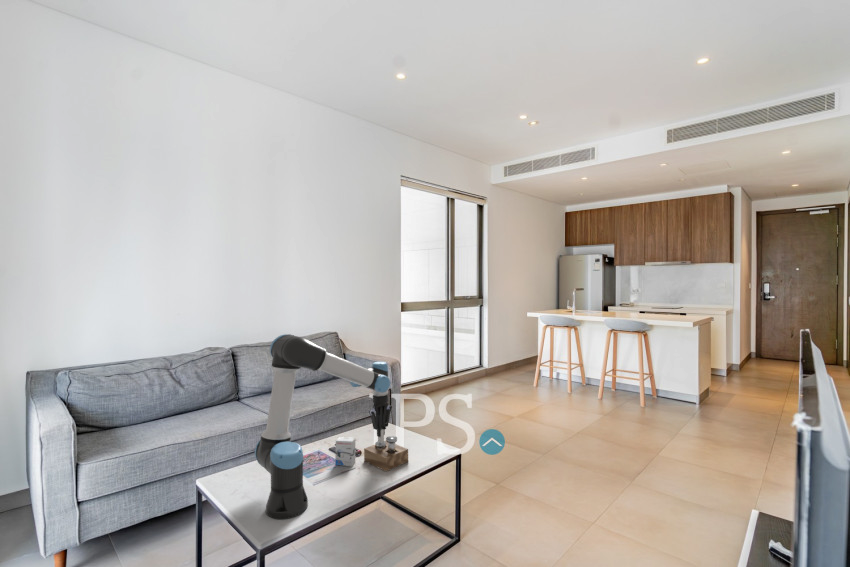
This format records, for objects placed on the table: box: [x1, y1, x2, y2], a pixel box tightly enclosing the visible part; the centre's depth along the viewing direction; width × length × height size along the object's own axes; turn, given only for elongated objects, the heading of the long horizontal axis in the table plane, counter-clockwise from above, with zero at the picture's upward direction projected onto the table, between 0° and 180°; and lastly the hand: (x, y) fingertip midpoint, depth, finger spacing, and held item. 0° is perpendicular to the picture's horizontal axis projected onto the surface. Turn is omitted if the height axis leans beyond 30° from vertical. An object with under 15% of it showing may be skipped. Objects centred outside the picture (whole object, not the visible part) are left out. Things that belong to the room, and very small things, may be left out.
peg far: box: [374, 440, 386, 449], centre depth 203 cm, size 5×5×7 cm
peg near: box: [385, 435, 398, 454], centre depth 197 cm, size 5×5×7 cm
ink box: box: [334, 436, 356, 467], centre depth 197 cm, size 9×5×12 cm, turn 84°
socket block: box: [363, 440, 409, 472], centre depth 200 cm, size 14×16×6 cm
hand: (380, 442), depth 203 cm, fingers closed
